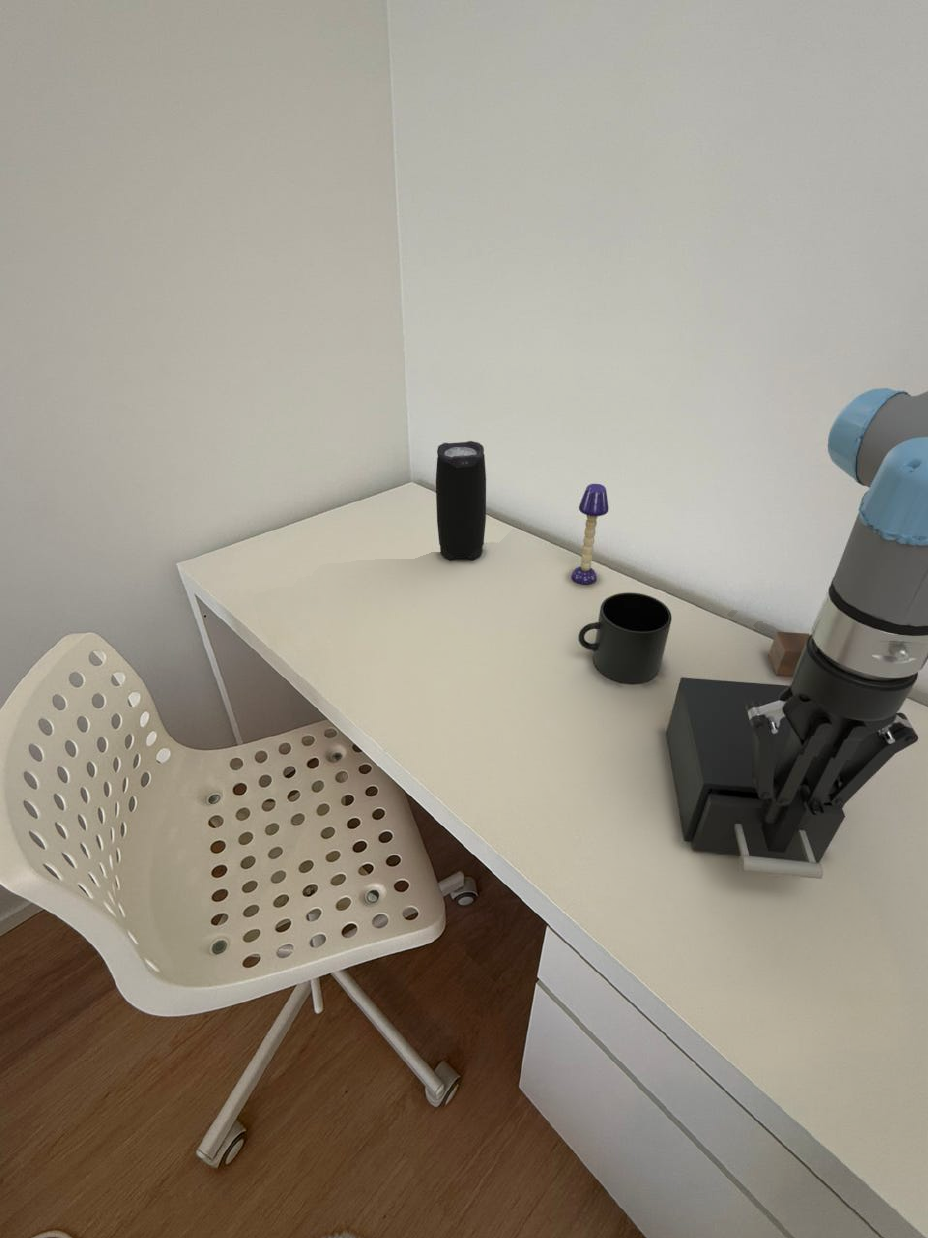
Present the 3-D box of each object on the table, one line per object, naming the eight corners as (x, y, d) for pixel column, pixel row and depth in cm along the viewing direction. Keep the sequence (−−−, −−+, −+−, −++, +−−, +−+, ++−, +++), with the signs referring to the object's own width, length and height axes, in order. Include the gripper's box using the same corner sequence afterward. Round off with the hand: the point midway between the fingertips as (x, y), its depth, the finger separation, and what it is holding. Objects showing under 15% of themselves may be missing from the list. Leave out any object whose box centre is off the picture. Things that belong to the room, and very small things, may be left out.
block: (799, 657, 93) (809, 633, 91) (808, 677, 90) (819, 653, 87) (768, 655, 94) (776, 631, 91) (775, 675, 90) (785, 651, 88)
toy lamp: (568, 570, 112) (578, 480, 102) (595, 569, 112) (607, 480, 102) (573, 585, 108) (584, 494, 98) (601, 584, 109) (614, 493, 99)
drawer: (835, 909, 62) (864, 862, 57) (702, 894, 63) (720, 848, 59) (781, 755, 77) (801, 708, 73) (675, 746, 79) (688, 699, 74)
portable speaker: (480, 537, 122) (482, 436, 110) (488, 563, 114) (491, 458, 102) (435, 540, 121) (431, 438, 109) (440, 566, 113) (437, 461, 101)
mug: (571, 641, 96) (577, 591, 91) (652, 642, 96) (663, 592, 91) (578, 684, 89) (585, 632, 83) (666, 685, 89) (679, 633, 83)
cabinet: (817, 854, 68) (849, 796, 62) (684, 841, 69) (703, 783, 63) (778, 743, 80) (801, 686, 74) (665, 733, 82) (680, 676, 76)
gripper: (786, 677, 46) (710, 867, 60) (983, 692, 44) (858, 883, 59) (760, 614, 52) (696, 801, 66) (933, 627, 50) (830, 814, 65)
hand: (772, 839), depth 62 cm, fingers closed
